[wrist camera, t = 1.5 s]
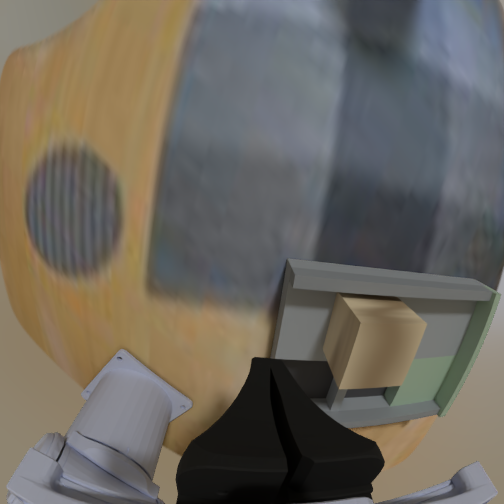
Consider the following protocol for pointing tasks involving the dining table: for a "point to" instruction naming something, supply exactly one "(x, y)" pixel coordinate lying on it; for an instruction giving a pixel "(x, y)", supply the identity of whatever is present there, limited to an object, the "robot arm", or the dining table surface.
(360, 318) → the beech cube
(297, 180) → the dining table surface
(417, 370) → the box
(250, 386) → the robot arm
